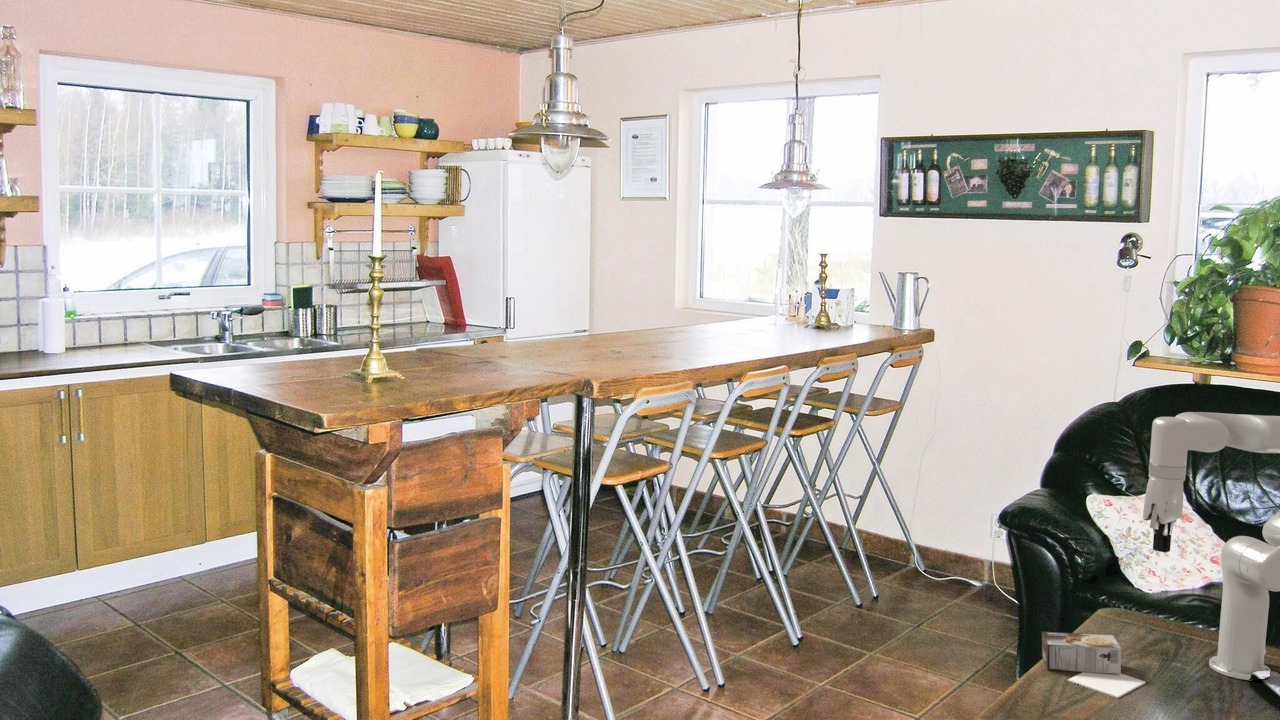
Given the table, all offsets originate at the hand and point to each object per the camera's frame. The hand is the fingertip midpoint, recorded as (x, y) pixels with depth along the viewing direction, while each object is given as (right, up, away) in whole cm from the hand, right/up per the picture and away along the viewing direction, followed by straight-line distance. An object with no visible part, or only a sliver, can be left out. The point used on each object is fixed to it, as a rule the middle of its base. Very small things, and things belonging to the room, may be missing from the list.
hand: (1161, 550), depth 249 cm
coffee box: (-8, -25, +4) cm, 26 cm away
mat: (-13, -29, -2) cm, 32 cm away
